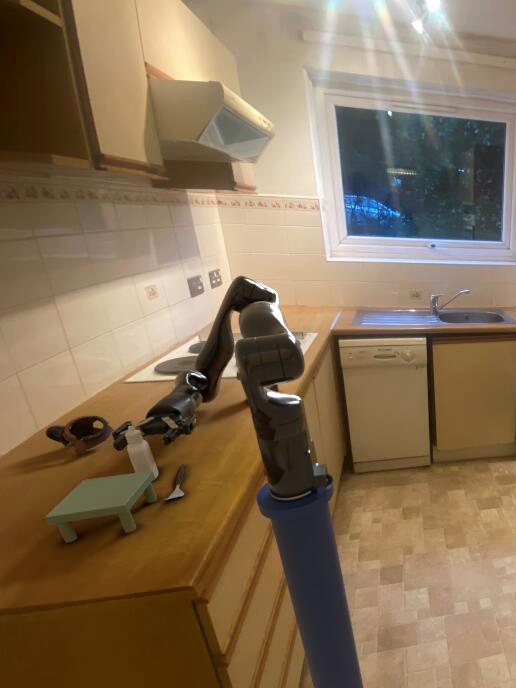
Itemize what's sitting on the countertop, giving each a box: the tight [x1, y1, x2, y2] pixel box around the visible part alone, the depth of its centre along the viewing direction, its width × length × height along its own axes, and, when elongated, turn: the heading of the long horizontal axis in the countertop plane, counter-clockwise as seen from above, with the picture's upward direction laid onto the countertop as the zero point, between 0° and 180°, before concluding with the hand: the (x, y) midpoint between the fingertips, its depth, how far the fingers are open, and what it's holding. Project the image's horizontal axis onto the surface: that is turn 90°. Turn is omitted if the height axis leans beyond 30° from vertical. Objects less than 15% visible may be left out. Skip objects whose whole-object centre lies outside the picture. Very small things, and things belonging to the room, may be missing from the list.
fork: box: [163, 463, 185, 501], centre depth 89 cm, size 3×16×2 cm, turn 29°
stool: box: [44, 471, 158, 544], centre depth 79 cm, size 11×11×6 cm
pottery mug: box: [45, 415, 115, 455], centre depth 102 cm, size 12×10×8 cm
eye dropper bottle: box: [125, 426, 159, 481], centre depth 90 cm, size 4×6×12 cm
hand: (141, 444), depth 91 cm, fingers open, 8 cm apart
